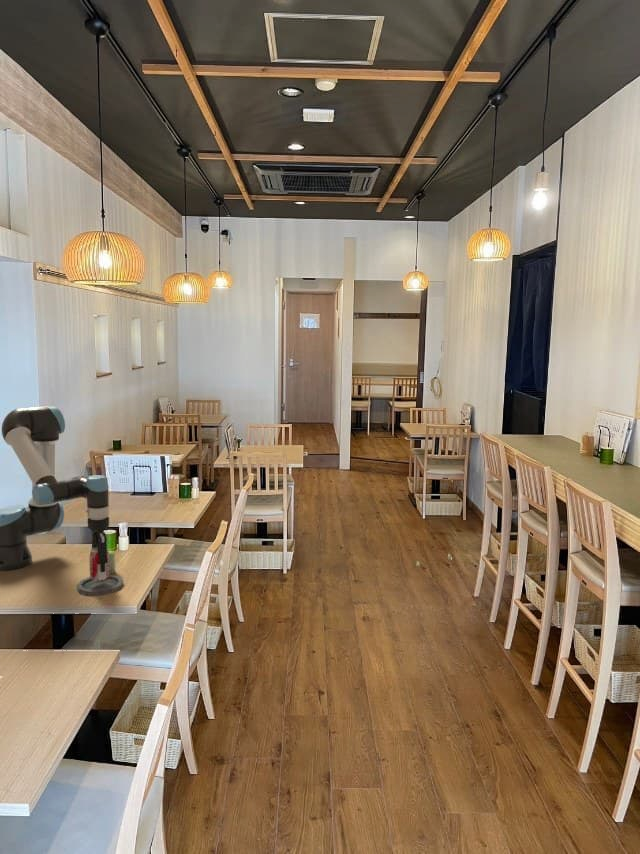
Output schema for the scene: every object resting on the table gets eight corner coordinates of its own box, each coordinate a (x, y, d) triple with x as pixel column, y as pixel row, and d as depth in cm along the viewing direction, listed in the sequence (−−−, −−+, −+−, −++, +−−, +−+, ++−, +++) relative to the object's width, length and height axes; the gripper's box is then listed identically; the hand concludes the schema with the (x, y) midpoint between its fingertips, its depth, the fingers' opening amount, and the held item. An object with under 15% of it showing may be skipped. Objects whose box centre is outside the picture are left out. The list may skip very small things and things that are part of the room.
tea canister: (100, 571, 245) (99, 552, 244) (113, 568, 248) (112, 550, 246) (103, 575, 241) (102, 555, 240) (116, 572, 243) (115, 553, 242)
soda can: (103, 584, 226) (102, 553, 224) (86, 582, 227) (85, 551, 225) (113, 577, 232) (112, 547, 231) (96, 575, 234) (95, 545, 232)
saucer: (73, 583, 233) (73, 579, 232) (116, 575, 241) (116, 571, 241) (82, 598, 219) (82, 594, 219) (127, 589, 228) (127, 586, 227)
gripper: (82, 511, 232) (84, 568, 236) (93, 525, 216) (95, 587, 219) (102, 509, 236) (104, 565, 240) (115, 522, 220) (116, 583, 223)
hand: (100, 575), depth 230 cm, fingers closed on soda can, 7 cm apart
